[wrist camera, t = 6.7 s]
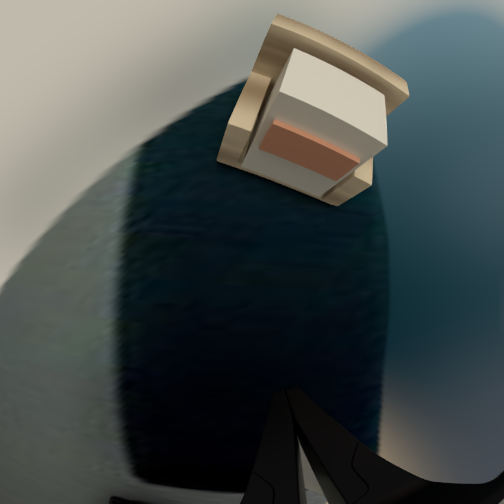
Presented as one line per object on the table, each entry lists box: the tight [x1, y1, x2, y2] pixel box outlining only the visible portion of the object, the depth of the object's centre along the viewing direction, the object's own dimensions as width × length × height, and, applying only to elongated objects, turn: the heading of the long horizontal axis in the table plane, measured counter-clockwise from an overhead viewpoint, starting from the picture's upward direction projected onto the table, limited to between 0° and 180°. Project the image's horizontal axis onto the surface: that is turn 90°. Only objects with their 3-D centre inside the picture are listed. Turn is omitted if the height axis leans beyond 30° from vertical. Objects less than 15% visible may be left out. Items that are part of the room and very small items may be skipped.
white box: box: [241, 48, 387, 197], centre depth 18 cm, size 5×7×9 cm
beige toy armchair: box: [217, 14, 409, 206], centre depth 19 cm, size 8×11×11 cm
